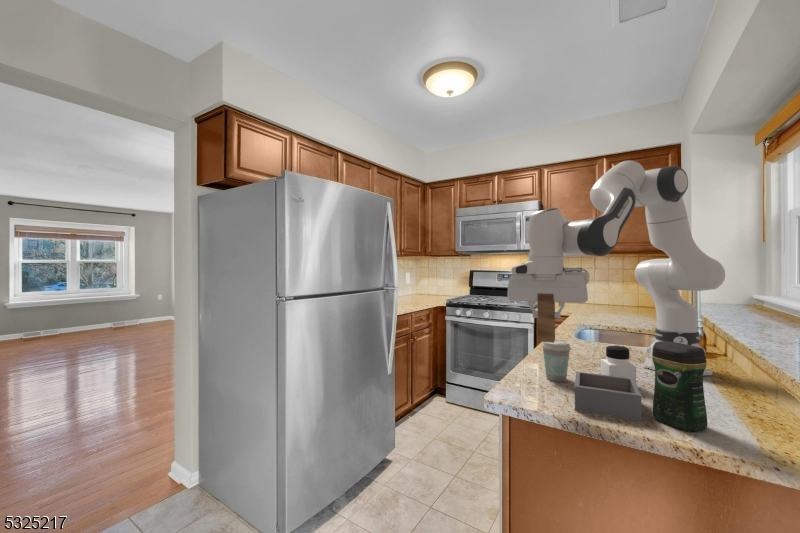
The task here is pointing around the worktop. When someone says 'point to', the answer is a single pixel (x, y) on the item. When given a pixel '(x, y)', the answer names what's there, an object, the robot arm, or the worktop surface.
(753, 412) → the worktop surface
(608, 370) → the medicine bottle
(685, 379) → the coffee jar
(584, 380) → the box
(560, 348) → the coffee cup
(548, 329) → the peg
